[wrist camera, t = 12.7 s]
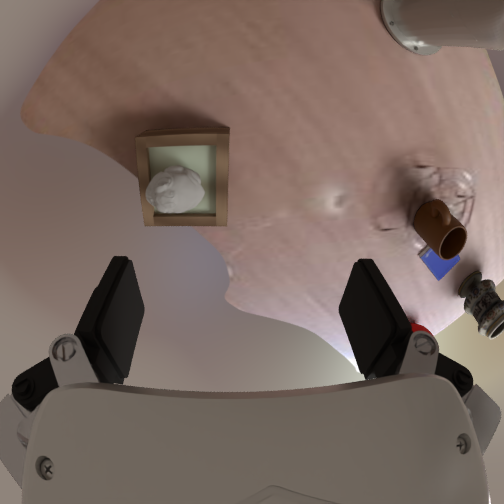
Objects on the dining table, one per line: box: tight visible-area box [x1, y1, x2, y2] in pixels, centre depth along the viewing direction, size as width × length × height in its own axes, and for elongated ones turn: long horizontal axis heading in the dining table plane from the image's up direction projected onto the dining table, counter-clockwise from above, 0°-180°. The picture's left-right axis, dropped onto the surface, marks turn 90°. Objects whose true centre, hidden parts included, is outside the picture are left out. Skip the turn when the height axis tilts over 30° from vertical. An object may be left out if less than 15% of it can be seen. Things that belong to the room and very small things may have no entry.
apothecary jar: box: [458, 271, 504, 339], centre depth 51 cm, size 12×12×18 cm
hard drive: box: [419, 246, 460, 280], centre depth 51 cm, size 2×8×12 cm
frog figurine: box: [145, 165, 205, 213], centre depth 32 cm, size 6×7×7 cm
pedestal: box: [135, 128, 230, 226], centre depth 36 cm, size 13×12×5 cm
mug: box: [414, 199, 467, 260], centre depth 40 cm, size 12×8×9 cm, turn 36°
